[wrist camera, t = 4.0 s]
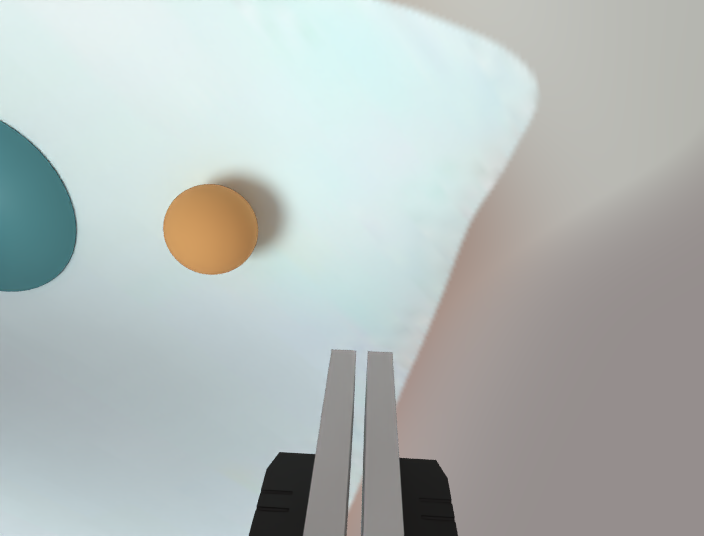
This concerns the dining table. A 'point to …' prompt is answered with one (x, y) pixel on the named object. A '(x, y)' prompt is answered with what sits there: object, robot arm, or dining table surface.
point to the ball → (210, 229)
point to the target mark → (31, 216)
